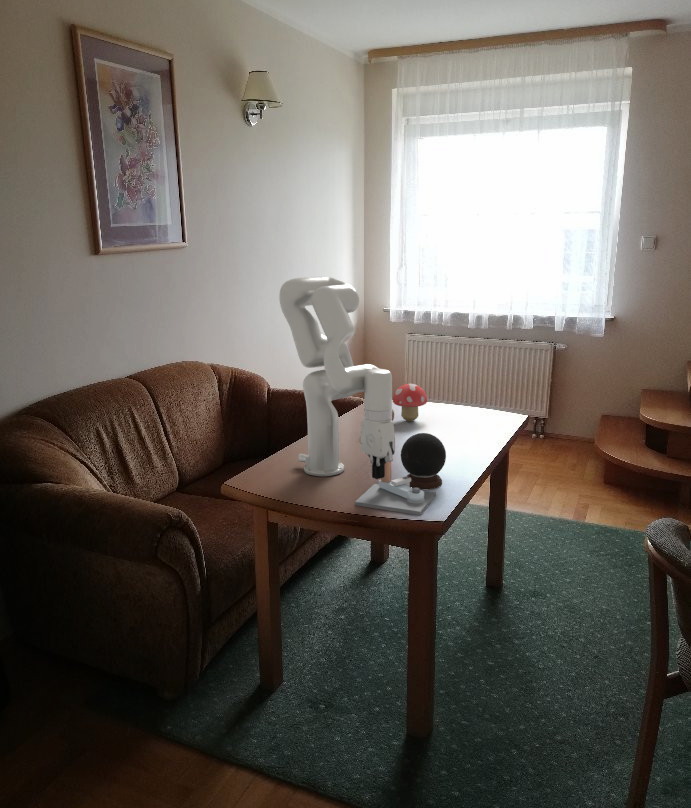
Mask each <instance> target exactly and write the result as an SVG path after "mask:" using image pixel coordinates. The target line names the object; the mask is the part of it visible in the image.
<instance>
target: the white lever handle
mask: <svg viewBox="0 0 691 808" xmlns="http://www.w3.org/2000/svg"><path fill="white" fill-rule="evenodd" d="M392 480H393V479H392V461H391V462H386V464H385V476H384V477H383V478H380V479H378V484H379V487H380V488H382V489H385V490H387V491H390V492H392V493H394V494H397V495H399V496H402V497H404V498H407V499H408V500H409V501H411V502H422V501H424V491H425V490H421V489H419V488H411V487H408V486H406V485H403V484H401V485H398V486H395V485H392V484H391V481H392Z"/></svg>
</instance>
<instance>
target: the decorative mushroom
mask: <svg viewBox="0 0 691 808" xmlns="http://www.w3.org/2000/svg"><path fill="white" fill-rule="evenodd" d="M427 403H428V396H427V393H426V392H425V390H424V388H422V387H421V386H420V385H418V384H415V383H405V384H403V385H401V386H399V387H398V388H397V389H396V390H395V392H394V394H393V395H392V404H394V405H396V406H398V407H401V410H400V411H401V412H400V413H401V414H400V415H401V418H402V419H403V420H405V421H406V422H413V421H415V420H416V419H418V418H419V407H422V406H424V405H426V404H427Z"/></svg>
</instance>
